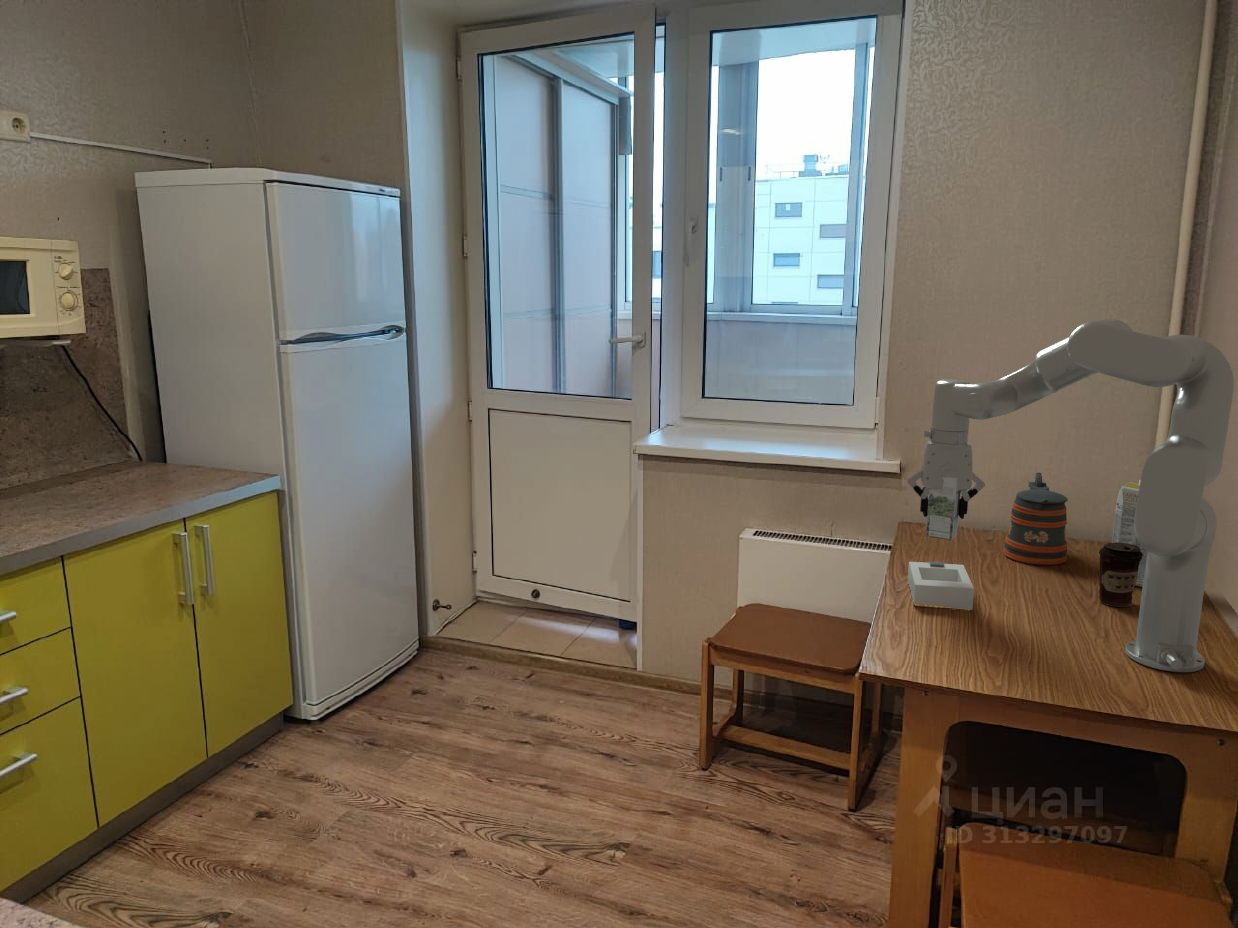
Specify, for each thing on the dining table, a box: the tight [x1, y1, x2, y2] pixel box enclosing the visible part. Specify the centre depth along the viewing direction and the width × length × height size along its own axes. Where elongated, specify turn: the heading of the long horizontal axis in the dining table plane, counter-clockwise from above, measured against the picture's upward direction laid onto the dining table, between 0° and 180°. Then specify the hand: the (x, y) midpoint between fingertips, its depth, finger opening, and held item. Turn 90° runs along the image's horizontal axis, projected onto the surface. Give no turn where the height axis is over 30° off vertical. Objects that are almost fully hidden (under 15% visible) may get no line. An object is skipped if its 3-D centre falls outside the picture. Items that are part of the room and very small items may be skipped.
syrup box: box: [925, 476, 961, 541], centre depth 191 cm, size 6×6×14 cm
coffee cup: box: [1098, 542, 1143, 608], centre depth 189 cm, size 9×8×13 cm
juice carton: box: [1111, 479, 1148, 587], centre depth 201 cm, size 9×8×24 cm
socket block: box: [907, 560, 975, 610], centre depth 195 cm, size 16×12×6 cm
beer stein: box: [1002, 472, 1069, 566], centre depth 222 cm, size 19×15×20 cm
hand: (943, 515), depth 192 cm, fingers closed on syrup box, 7 cm apart
